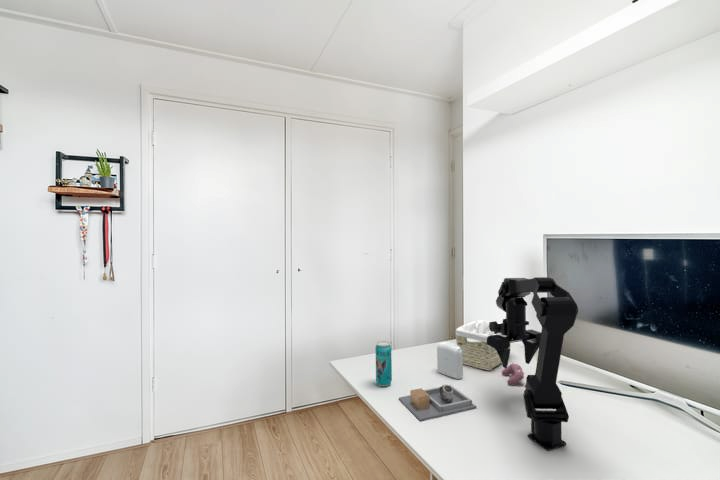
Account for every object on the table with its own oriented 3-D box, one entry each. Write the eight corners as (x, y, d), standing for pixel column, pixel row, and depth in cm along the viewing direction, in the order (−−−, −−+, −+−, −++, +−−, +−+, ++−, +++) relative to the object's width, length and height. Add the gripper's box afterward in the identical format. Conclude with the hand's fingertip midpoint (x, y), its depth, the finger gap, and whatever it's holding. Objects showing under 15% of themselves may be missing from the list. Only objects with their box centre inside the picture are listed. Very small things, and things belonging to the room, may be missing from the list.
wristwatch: (446, 405, 105) (446, 389, 105) (436, 396, 111) (436, 381, 111) (456, 403, 106) (456, 388, 106) (446, 394, 112) (446, 380, 112)
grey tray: (476, 408, 104) (476, 393, 104) (420, 421, 97) (420, 405, 97) (449, 388, 117) (449, 375, 117) (398, 399, 110) (398, 385, 110)
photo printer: (435, 372, 132) (435, 341, 131) (442, 369, 134) (442, 338, 134) (458, 380, 124) (457, 347, 123) (464, 377, 126) (464, 345, 126)
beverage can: (373, 385, 120) (372, 344, 120) (380, 379, 126) (379, 340, 125) (388, 389, 118) (387, 346, 118) (394, 382, 123) (393, 342, 123)
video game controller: (519, 391, 118) (528, 374, 118) (506, 384, 119) (516, 367, 118) (511, 379, 128) (520, 363, 127) (500, 373, 129) (508, 357, 128)
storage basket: (478, 348, 157) (478, 317, 157) (514, 357, 146) (514, 323, 146) (453, 363, 140) (453, 328, 140) (492, 374, 129) (492, 336, 129)
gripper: (518, 309, 117) (519, 353, 117) (475, 314, 111) (475, 361, 111) (546, 316, 107) (546, 364, 107) (499, 322, 100) (500, 374, 101)
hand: (516, 365), depth 107 cm, fingers open, 9 cm apart
